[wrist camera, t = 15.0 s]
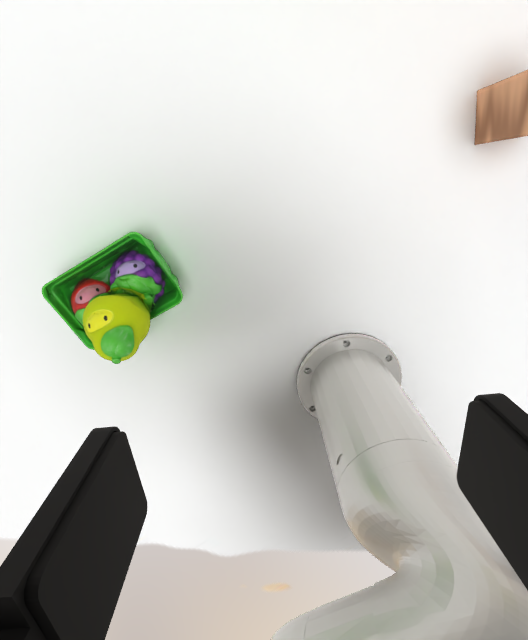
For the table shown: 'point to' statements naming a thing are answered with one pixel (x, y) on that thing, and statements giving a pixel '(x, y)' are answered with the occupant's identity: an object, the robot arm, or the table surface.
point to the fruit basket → (115, 296)
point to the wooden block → (502, 110)
